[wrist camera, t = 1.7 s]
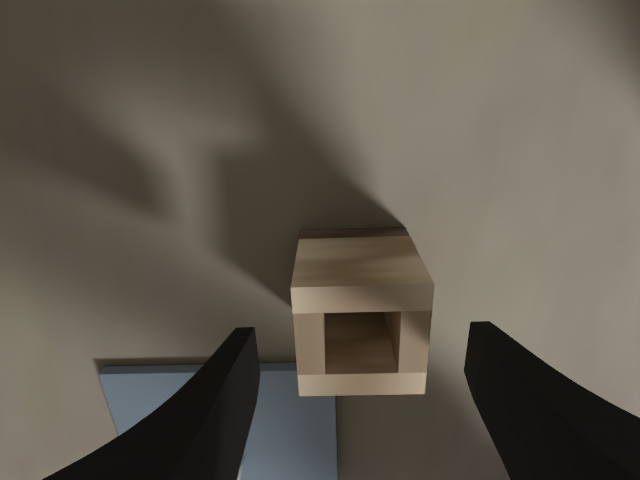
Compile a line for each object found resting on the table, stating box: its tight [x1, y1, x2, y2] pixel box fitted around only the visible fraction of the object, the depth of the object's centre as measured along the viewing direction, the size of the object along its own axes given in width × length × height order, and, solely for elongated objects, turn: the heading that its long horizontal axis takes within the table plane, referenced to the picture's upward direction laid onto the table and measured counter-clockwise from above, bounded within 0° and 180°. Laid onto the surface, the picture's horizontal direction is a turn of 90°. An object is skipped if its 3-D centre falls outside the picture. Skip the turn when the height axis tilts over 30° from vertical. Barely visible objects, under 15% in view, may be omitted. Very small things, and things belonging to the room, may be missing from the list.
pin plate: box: [98, 363, 338, 480], centre depth 21 cm, size 12×12×3 cm
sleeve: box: [291, 227, 434, 396], centre depth 16 cm, size 5×5×5 cm
